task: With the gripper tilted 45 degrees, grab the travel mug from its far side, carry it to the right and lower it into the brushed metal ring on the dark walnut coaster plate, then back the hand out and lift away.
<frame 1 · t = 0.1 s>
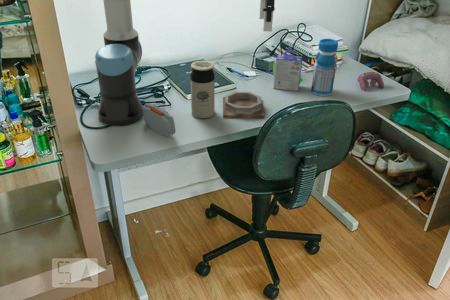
hand: (265, 24, 150), 28 cm above the table, tool pointing down, fingers open, 13 cm apart
puzzle toy: (280, 75, 184), on the table
travel mug: (203, 113, 155), on the table
beverage bottle: (321, 92, 171), on the table
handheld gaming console: (159, 131, 145), on the table
pink arch: (369, 87, 175), on the table
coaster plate: (242, 108, 159), on the table
ink cartridge box: (286, 87, 174), on the table
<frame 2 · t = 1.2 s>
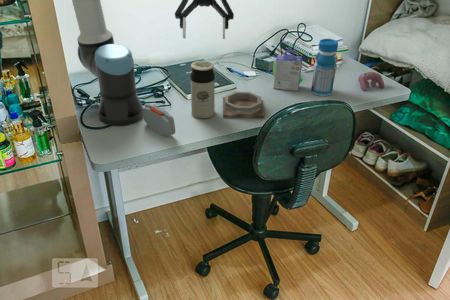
hand: (203, 37, 152), 23 cm above the table, tool tilted 45°, fingers open, 13 cm apart
nothing on the table moved.
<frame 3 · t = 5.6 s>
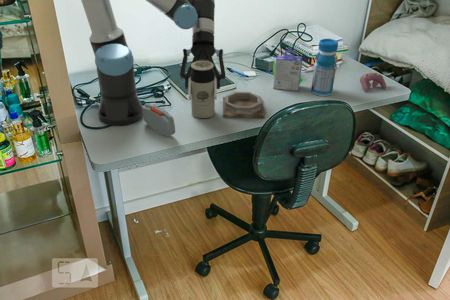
hand: (202, 97, 148), 8 cm above the table, tool tilted 45°, fingers closed on travel mug, 8 cm apart
travel mug: (203, 113, 155), on the table, touching gripper
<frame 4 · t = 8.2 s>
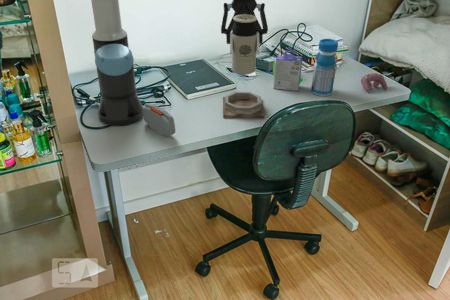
hand: (244, 52, 144), 22 cm above the table, tool tilted 45°, fingers closed on travel mug, 8 cm apart
travel mug: (243, 71, 151), point 14 cm above the table, touching gripper
when the fingers open (10 cm above the table, at t = 10.8 s): travel mug drops 1 cm, resting on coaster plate.
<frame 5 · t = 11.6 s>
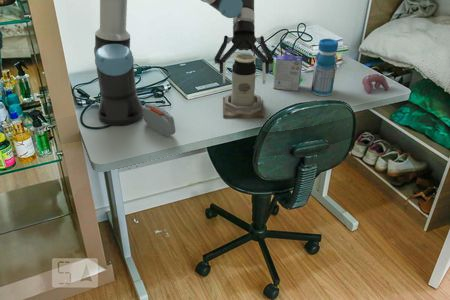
hand: (244, 82, 150), 11 cm above the table, tool tilted 45°, fingers open, 13 cm apart
travel mug: (242, 106, 158), point 1 cm above the table, touching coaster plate
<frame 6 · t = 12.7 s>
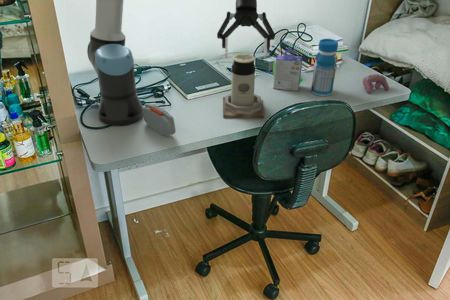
hand: (245, 57, 154), 17 cm above the table, tool tilted 45°, fingers open, 13 cm apart
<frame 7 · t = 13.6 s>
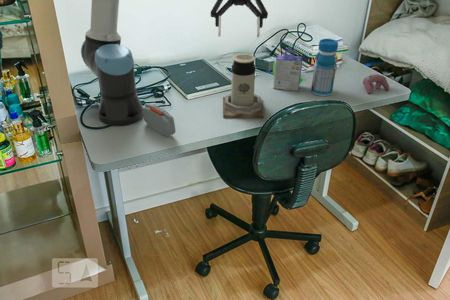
hand: (238, 35, 156), 23 cm above the table, tool tilted 45°, fingers open, 13 cm apart
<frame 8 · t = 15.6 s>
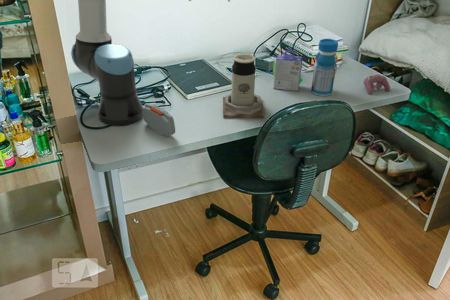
at the end: travel mug 0.2 cm off-centre on the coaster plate, point 0.8 cm above the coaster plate's base; travel mug tilted 0°; the gripper is holding nothing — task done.
